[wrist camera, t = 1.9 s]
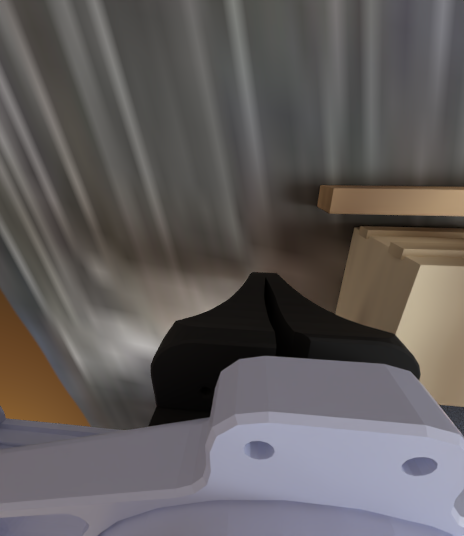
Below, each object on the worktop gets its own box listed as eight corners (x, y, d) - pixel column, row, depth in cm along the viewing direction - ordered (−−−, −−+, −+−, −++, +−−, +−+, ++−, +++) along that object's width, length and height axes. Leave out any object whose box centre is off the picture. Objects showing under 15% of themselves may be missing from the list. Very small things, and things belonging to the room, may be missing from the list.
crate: (486, 225, 11) (653, 265, 6) (438, 330, 13) (534, 412, 9) (353, 222, 11) (419, 257, 7) (331, 323, 14) (369, 399, 9)
